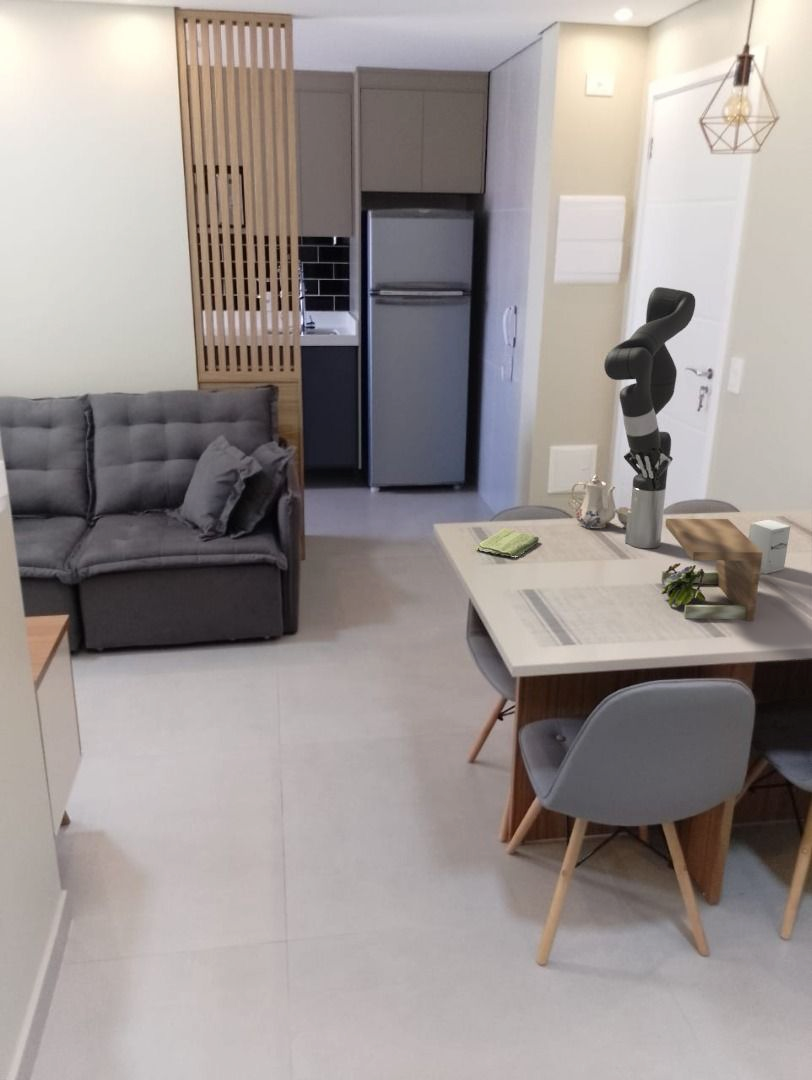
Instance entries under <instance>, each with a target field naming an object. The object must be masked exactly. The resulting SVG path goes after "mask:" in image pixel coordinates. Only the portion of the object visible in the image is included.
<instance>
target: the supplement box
mask: <svg viewBox="0 0 812 1080" xmlns="http://www.w3.org/2000/svg"><path fill="white" fill-rule="evenodd" d="M749 524H750V525H749V533H748V537H747V538H748V539H749V540H750V541H751V542H752V543H753V544H754V545H755V546H757V547H758V548H759V549H760V550H761V551H762V552H763V554H762V561H761V568H760V572H761V574H763V573H764V575H768V574H770V573H774V572H780V571H783V570H785V564H786V557H787V553H788V552H787V550H788V545H789V539H790V532H791V525H788V524H786V523H782V522H779V521H775V520H772V519H765V520H760V521H755V522H750V523H749Z"/></svg>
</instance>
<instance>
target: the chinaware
mask: <svg viewBox="0 0 812 1080" xmlns="http://www.w3.org/2000/svg"><path fill="white" fill-rule="evenodd" d="M579 485H583V486H582V487H581V488H582V490H585V494H582V495H580V496H576V495H575V488H576V487H577V486H579ZM606 485H607V483H606V482H605V481H602V480H601V478H599V476H598V475H597V474H594V476H593V477H592V478H590V480H587V481H584V482H577V483H575V484H574V485H572V487H571V495H572V497H571V499H569V501H568V506H569V508H570V509H575V512H576V513H575V515H574V516H575V519H576V521H577V522H578V525H579V524H580V525H581V526H580V525H579V526H580V527H582V526H584V527H583V528H585V527H588V528H587V529H590V528H600V529H604V528H606V527H607V524H609V522H611V521H613V519H615V516H616V514H617V519H618V521H619V522H620V524H621V525H623V527H622V528H625V529H626V524H627V513H628V511H630V510H631V507H630V508H629V507H625V506H622V507H619V508H618V509H616V508H617V507H616V503H615V499H614V493H613V492H614V490H615V489H616V487H615V486H612V487H610V488H609V489H608V491H607V505H606V501H605V497H604V495H605V493H604V491H605V488H606ZM571 502H572V504H573V507H572V506H571V505H570V504H571Z"/></svg>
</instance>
